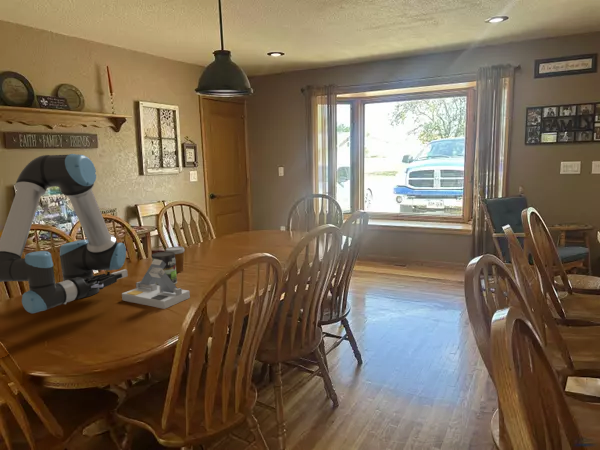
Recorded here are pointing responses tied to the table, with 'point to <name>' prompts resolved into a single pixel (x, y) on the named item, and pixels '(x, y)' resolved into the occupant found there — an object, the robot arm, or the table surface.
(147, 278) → the paddle over amber tile
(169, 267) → the coffee can
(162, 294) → the switch unit
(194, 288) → the table surface
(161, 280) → the paddle over charcoal tile
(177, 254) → the disposable coffee cup
